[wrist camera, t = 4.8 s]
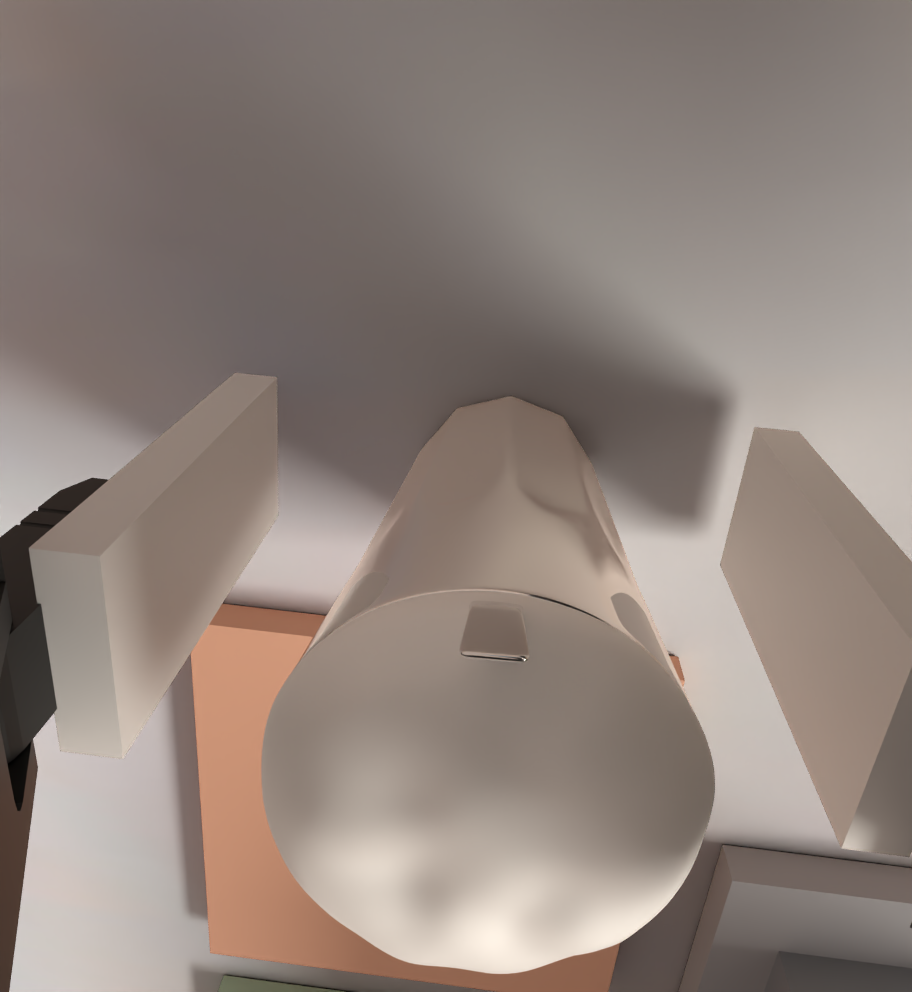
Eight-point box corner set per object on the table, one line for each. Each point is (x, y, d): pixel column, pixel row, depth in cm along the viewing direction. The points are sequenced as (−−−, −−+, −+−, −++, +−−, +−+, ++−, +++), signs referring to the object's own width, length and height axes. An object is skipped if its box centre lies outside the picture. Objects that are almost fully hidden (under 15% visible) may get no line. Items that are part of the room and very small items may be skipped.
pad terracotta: (202, 601, 17) (188, 622, 17) (677, 656, 17) (684, 680, 16) (220, 925, 22) (210, 953, 21) (601, 975, 21) (604, 1006, 20)
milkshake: (649, 324, 14) (860, 687, 5) (608, 589, 16) (704, 1168, 7) (389, 305, 14) (149, 623, 5) (383, 569, 17) (209, 1107, 8)
